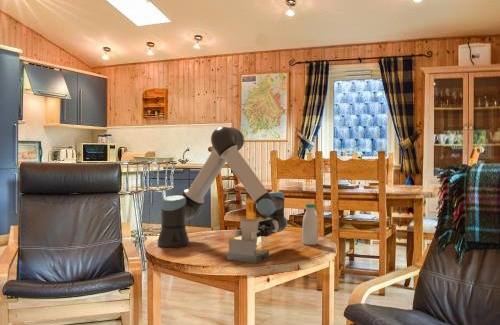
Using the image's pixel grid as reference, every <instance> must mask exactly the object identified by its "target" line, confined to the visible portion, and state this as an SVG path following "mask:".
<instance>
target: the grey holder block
mask: <svg viewBox="0 0 500 325" xmlns="http://www.w3.org/2000/svg"><path fill="white" fill-rule="evenodd" d="M255 244H256V241H248V240H242V239H237V238H229V239H228V252H226V261H231V260H233V261H232V262H239V263H248V264H255V265H256V264H259V263H262V262H264V261H266V260H268V259H270V251H269V250H261V249H255Z"/></svg>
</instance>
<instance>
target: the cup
mask: <svg viewBox="0 0 500 325" xmlns="http://www.w3.org/2000/svg"><path fill="white" fill-rule="evenodd" d="M259 222H260V221H259V219H256V218H244V219H240V227H241V236H240V237H241V240H248V241H256V244H255V249H257V248H258V247H257V246H258V245H257V244H258V242H257V241H258V238H255V239H251V232H254V231H258V224H259ZM257 250H258V249H257Z"/></svg>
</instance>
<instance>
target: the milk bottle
mask: <svg viewBox="0 0 500 325" xmlns="http://www.w3.org/2000/svg"><path fill="white" fill-rule="evenodd" d="M315 209H316V204H315V203H306V204H305V213H304V215H303V218H302V231H301V236H302V237H301V238H302V239H301V243H302V245H307V246H315V245H318V243H319V220H318V216H317V214H316V211H315Z"/></svg>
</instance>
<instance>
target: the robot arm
mask: <svg viewBox="0 0 500 325" xmlns="http://www.w3.org/2000/svg"><path fill="white" fill-rule="evenodd" d="M210 143H211V146H212V147H211V148H212V151H211V153H210V154H209V156H208V158H207V159H206V161H205V162H204V164H203V165H202V167H201V169H200V170H199V172H198V174H197V175H196V177H195V178H194V180H193V182H192V183H191V185H190V186H189V187H188V188H186V189H184V190H183V192H182V194H181V195H180V194H179V195H176V194H175V195H169V196H165V197H163V198H162V200H161V206H160V207H161V227H160V228H161V229H160V233H159V236H158V239H157V246H159V247H161V248H182V247H187V246H189V245H190V239H189V235H188V233H187V229H186V226H187V225H186V223H187V222H186V221H188V220H192V219H195V218H196V217H198V216H200V214H201V212H202V210H203V204H204V203H205V198H204V197H205V196H206V195H207V193H208V192H209V189H210V188H211V186H212V184H214V181H215V180H216V179H217V177H218V175H219V174H220V172H221V171H222V170H223V167H224V166H225V164H227V165H228V167H229V168H230V169H231V171H232V172H233V174H234V175H235V177H236V178H237V179H238V181H239V182H240V183H241V185H242V186H243V187H244V189H245V190H246V192H247V193H248V195H250V196H249V197H251V199H252V200H253V201H254V203H255V204H256V208H257V212H258V213H259V214H260V215H261V216H268V218H265V219H262V220H260V221H259V224H258V231H254V232H251V239H255V238H257V239H258V238H260V237H266V238H268V237H270V236H272V235H274V234H276V233H281V232H282V231H284V230H286V229H287V227H288V220H287V218H286V217H285V193H284V192H283V191H269V192H268V190H267V189H266V188H265V186H264V185H263V183H262V181H261V180H260V179H259V178H258V176H257V175H256V173H255V172H254V170H252V168H251V166H250V165H249V163H248V162H247V161H246V160H245V158H244V156H243V155H242V154H241V153H240V150H241V149H242V148H243V146H244V145H245V136H244V134H243V132H242V131H241V130H239V129H238V128H236V127H234V126H233V127H230V126H229V127H228V126H219V127H217V128H216V129H214V131H213V132H212V133H211V136H210ZM238 237H241V226H240V227H237V229H236V230H234V238H238Z"/></svg>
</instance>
